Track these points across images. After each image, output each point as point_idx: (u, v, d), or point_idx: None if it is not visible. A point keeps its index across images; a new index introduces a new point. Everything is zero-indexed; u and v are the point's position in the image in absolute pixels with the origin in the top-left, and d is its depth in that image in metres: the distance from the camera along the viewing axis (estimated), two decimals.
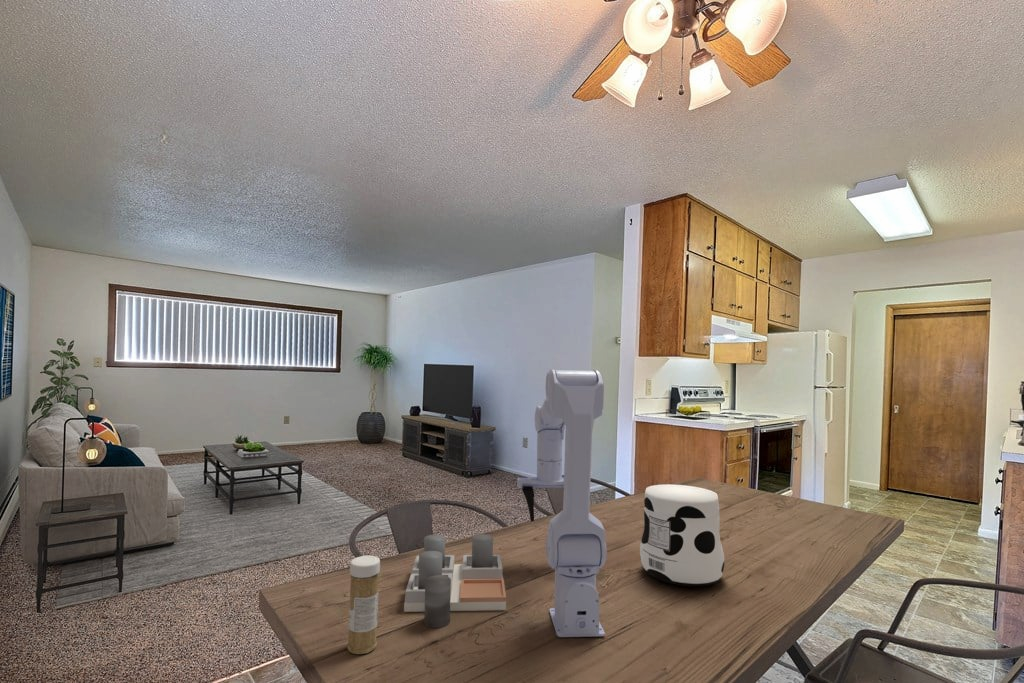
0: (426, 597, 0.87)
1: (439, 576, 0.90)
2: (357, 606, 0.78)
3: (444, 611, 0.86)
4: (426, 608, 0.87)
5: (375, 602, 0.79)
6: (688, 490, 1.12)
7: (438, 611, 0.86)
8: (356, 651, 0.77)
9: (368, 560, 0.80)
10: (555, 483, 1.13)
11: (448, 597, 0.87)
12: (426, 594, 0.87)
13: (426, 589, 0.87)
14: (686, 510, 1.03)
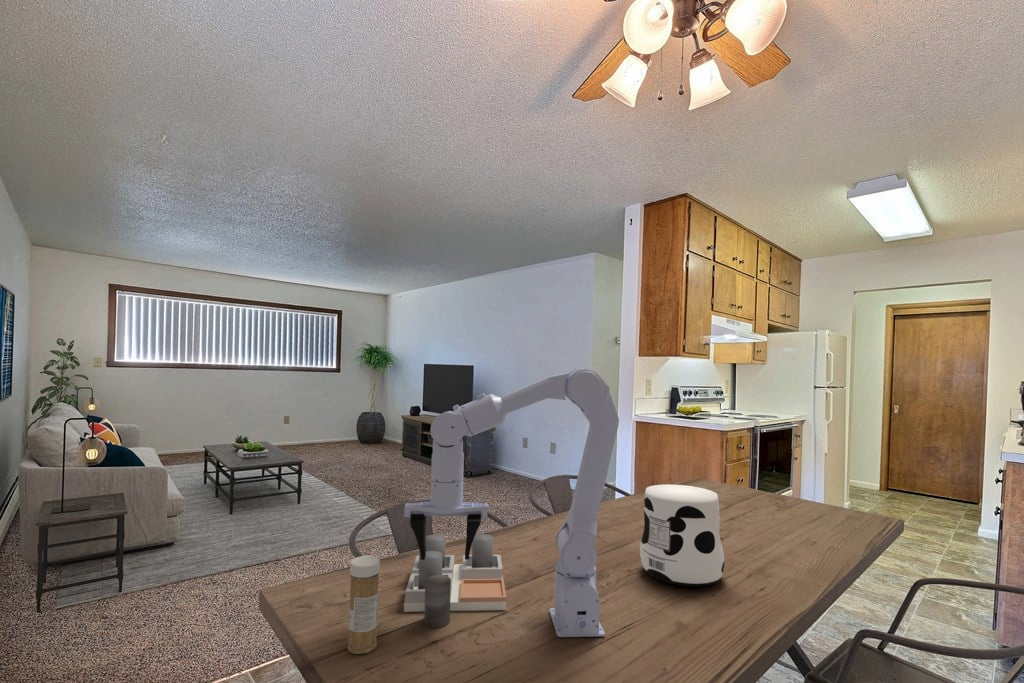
0: (426, 597, 0.87)
1: (439, 576, 0.90)
2: (357, 605, 0.78)
3: (444, 611, 0.86)
4: (426, 608, 0.87)
5: (375, 602, 0.79)
6: (688, 490, 1.12)
7: (438, 611, 0.86)
8: (356, 651, 0.77)
9: (368, 560, 0.80)
10: (451, 511, 0.87)
11: (448, 597, 0.87)
12: (426, 594, 0.87)
13: (426, 589, 0.87)
14: (686, 510, 1.03)
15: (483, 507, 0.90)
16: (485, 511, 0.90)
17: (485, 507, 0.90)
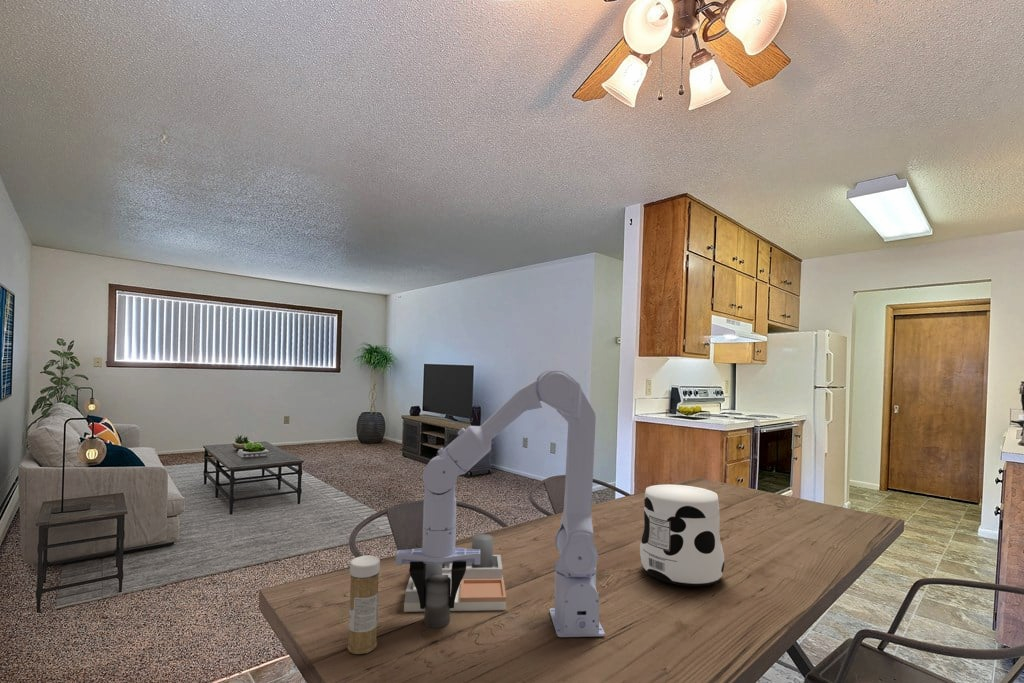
0: (426, 597, 0.87)
1: (439, 576, 0.90)
2: (357, 606, 0.78)
3: (444, 610, 0.86)
4: (426, 608, 0.87)
5: (375, 602, 0.79)
6: (688, 490, 1.12)
7: (438, 611, 0.86)
8: (356, 651, 0.77)
9: (368, 560, 0.80)
10: (443, 560, 0.86)
11: (448, 597, 0.87)
12: (426, 594, 0.87)
13: (426, 589, 0.87)
14: (686, 510, 1.03)
15: (476, 554, 0.88)
16: (478, 558, 0.88)
17: (478, 554, 0.88)
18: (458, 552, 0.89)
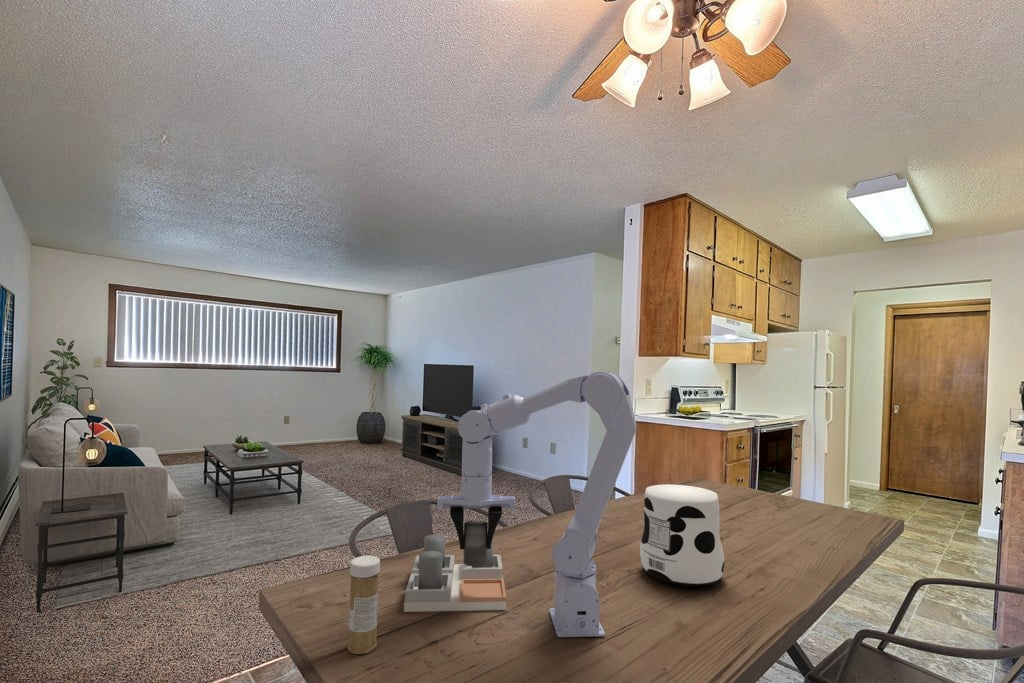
0: (465, 538, 0.94)
1: (476, 521, 0.97)
2: (357, 606, 0.78)
3: (482, 550, 0.94)
4: (465, 548, 0.94)
5: (375, 602, 0.79)
6: (688, 490, 1.12)
7: (477, 551, 0.93)
8: (356, 651, 0.77)
9: (368, 560, 0.80)
10: (481, 503, 0.93)
11: (485, 538, 0.95)
12: (466, 535, 0.94)
13: (465, 531, 0.94)
14: (686, 510, 1.03)
15: (511, 500, 0.95)
16: (513, 503, 0.95)
17: (513, 499, 0.96)
18: (494, 498, 0.96)
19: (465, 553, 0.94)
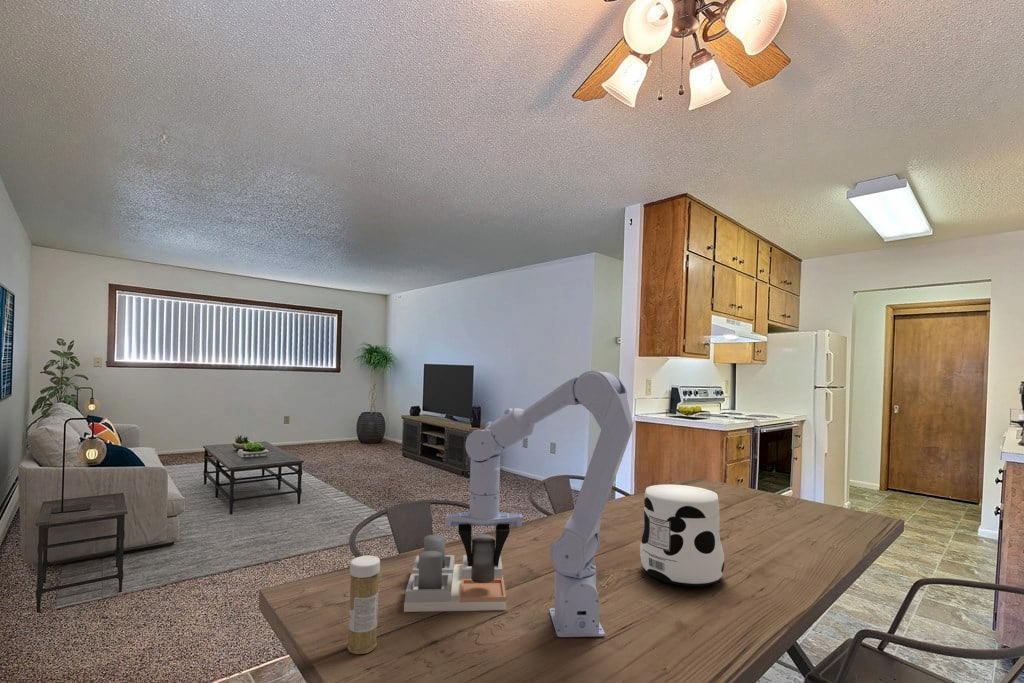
0: (473, 555, 0.96)
1: (483, 538, 0.99)
2: (357, 606, 0.78)
3: (490, 568, 0.95)
4: (473, 565, 0.96)
5: (375, 602, 0.79)
6: (688, 490, 1.12)
7: (484, 568, 0.95)
8: (356, 651, 0.77)
9: (368, 560, 0.80)
10: (489, 521, 0.95)
11: (493, 556, 0.96)
12: (474, 552, 0.96)
13: (473, 548, 0.96)
14: (686, 510, 1.03)
15: (518, 517, 0.97)
16: (520, 521, 0.97)
17: (520, 517, 0.97)
18: (502, 516, 0.98)
19: (473, 570, 0.96)
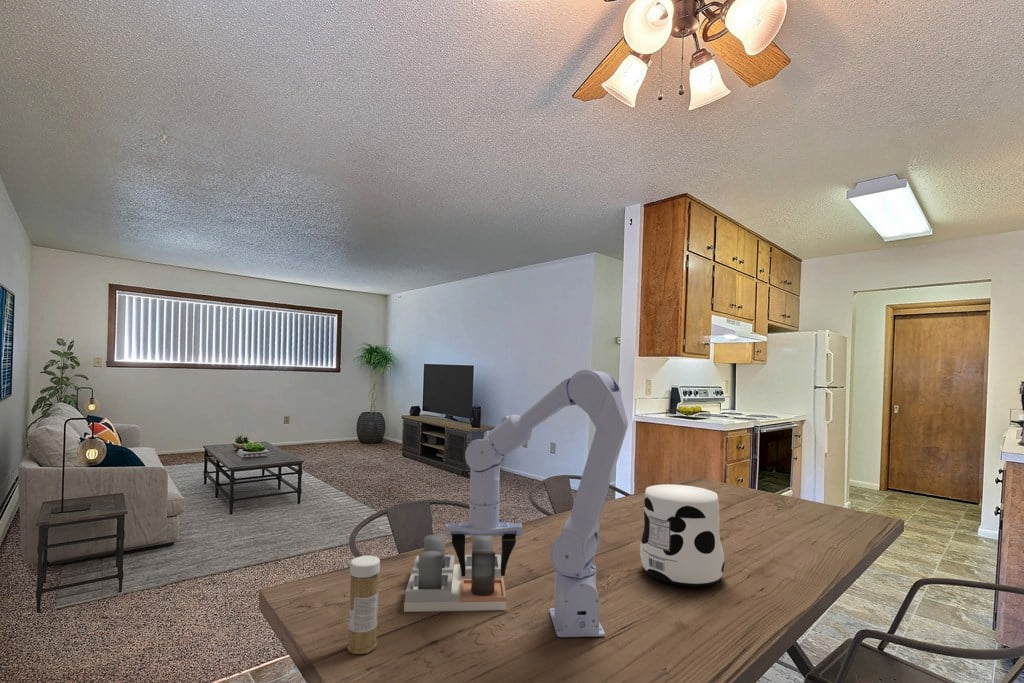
0: (473, 568, 0.96)
1: (483, 550, 0.99)
2: (357, 606, 0.78)
3: (490, 580, 0.95)
4: (473, 578, 0.95)
5: (375, 602, 0.79)
6: (688, 490, 1.12)
7: (484, 581, 0.95)
8: (356, 651, 0.77)
9: (368, 560, 0.80)
10: (489, 531, 0.95)
11: (493, 568, 0.96)
12: (474, 565, 0.96)
13: (473, 561, 0.96)
14: (686, 510, 1.03)
15: (518, 527, 0.97)
16: (520, 531, 0.97)
17: (520, 527, 0.97)
18: (501, 525, 0.98)
19: (473, 583, 0.95)
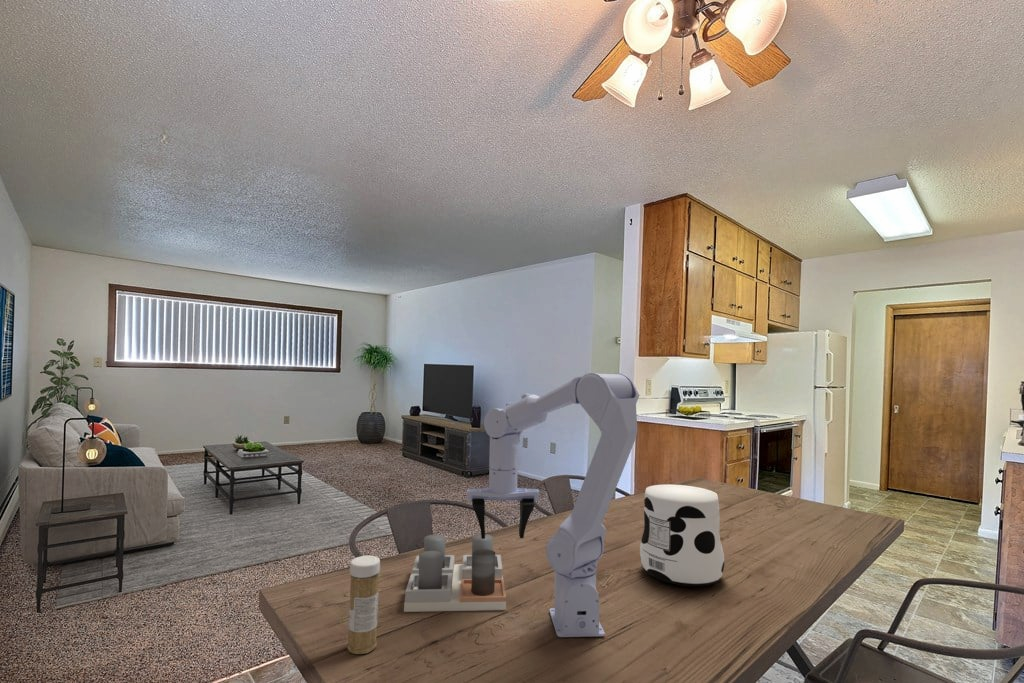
0: (474, 568, 0.96)
1: (484, 550, 0.99)
2: (357, 606, 0.78)
3: (490, 580, 0.95)
4: (474, 578, 0.95)
5: (375, 602, 0.79)
6: (688, 490, 1.12)
7: (485, 580, 0.95)
8: (356, 651, 0.77)
9: (368, 560, 0.80)
10: (509, 495, 0.99)
11: (493, 568, 0.96)
12: (474, 565, 0.96)
13: (474, 561, 0.96)
14: (686, 510, 1.03)
15: (535, 492, 1.02)
16: (537, 496, 1.02)
17: (537, 492, 1.02)
18: (520, 490, 1.02)
19: (473, 582, 0.95)
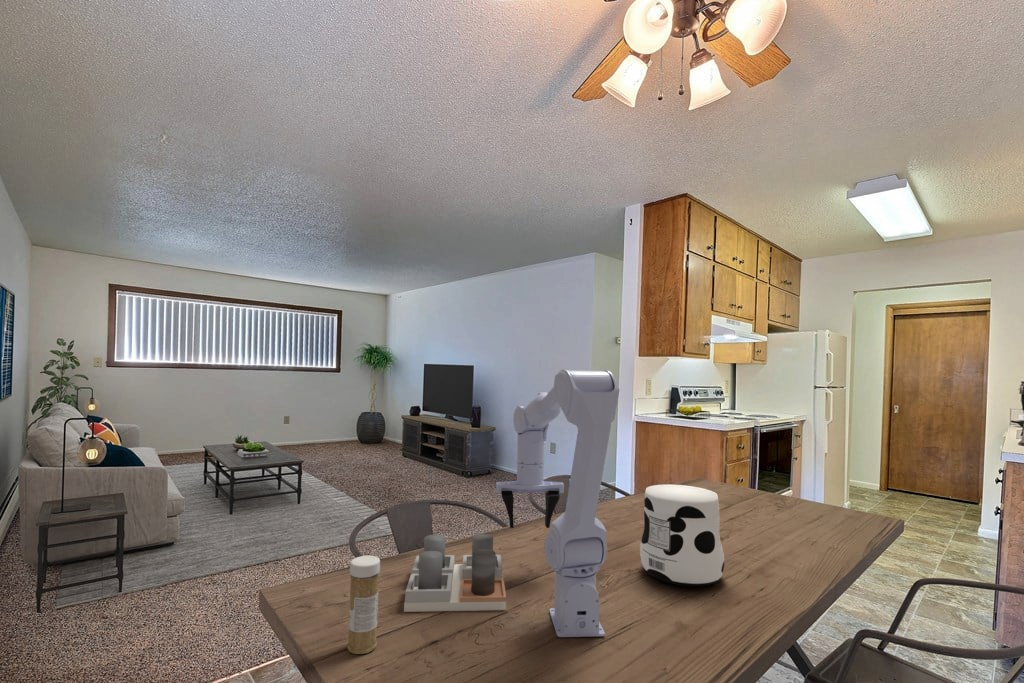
0: (474, 568, 0.96)
1: (484, 550, 0.98)
2: (357, 605, 0.78)
3: (490, 580, 0.95)
4: (474, 578, 0.95)
5: (376, 602, 0.79)
6: (688, 490, 1.12)
7: (485, 581, 0.95)
8: (356, 651, 0.77)
9: (368, 560, 0.80)
10: (536, 488, 1.07)
11: (494, 568, 0.96)
12: (474, 565, 0.95)
13: (474, 561, 0.96)
14: (686, 510, 1.03)
15: (560, 485, 1.09)
16: (562, 488, 1.09)
17: (562, 485, 1.09)
18: (545, 483, 1.10)
19: (473, 583, 0.95)
